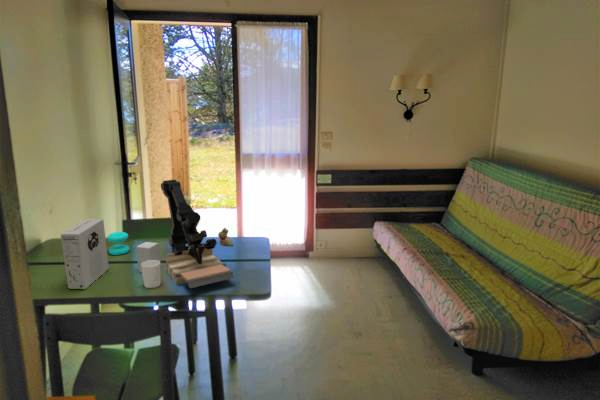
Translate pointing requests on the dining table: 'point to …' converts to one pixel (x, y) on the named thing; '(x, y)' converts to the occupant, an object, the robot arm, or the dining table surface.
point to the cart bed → (189, 264)
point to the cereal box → (85, 253)
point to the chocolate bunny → (225, 238)
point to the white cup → (151, 273)
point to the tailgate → (207, 275)
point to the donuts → (118, 248)
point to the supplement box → (147, 253)
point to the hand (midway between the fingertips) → (200, 264)
